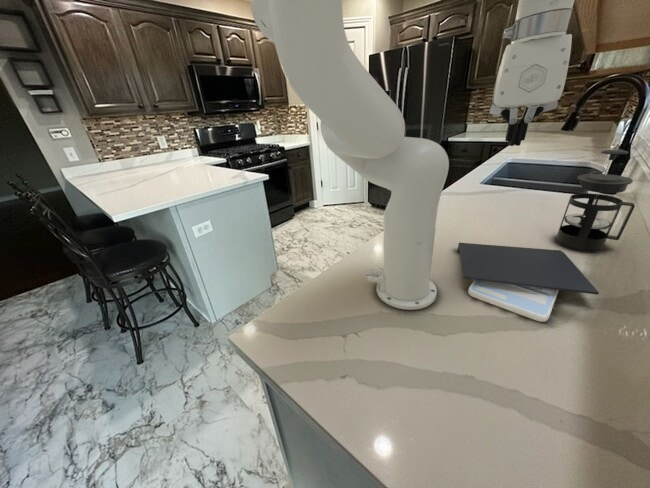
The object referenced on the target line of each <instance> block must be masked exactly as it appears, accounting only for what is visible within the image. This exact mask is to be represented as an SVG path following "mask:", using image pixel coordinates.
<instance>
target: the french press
mask: <svg viewBox="0 0 650 488" xmlns="http://www.w3.org/2000/svg"><path fill="white" fill-rule="evenodd" d="M600 153H601V154H603V155H609V157H608V160H609V162H608V164H607V166H606V169H605V171H604V173H585V174H584V173H583V174H579V175H577V177H576V180H578V181H579V183H580V186H581V188H582V190H584V191H586V192H583V193H573V194H571V195H570V197H569V199H568V202H567V206H566V208H565V211H564V214H563V217H562V218H561V222H560V225H559V228H558V230H557V234H556V235H555V237H554V242H555V244H556V245H558V246H560V247H563V248H565V249H568V250H571V251H575V252H580V253H599V252H601V251H603V250H604V248H605V246H604V245H605V243H606V241H607V239H608V240H613V241H619V240H620V238H621V236H622V234H623V232H624V230H625V227H626V226H627V224H628V222H629V219H630V218H631V215H632V213H633V211H634V209H635V207H636V205H635V202H629V201H623V200H622V199H621V198H618V197H616V196H612V195H607V194H619V193H623V192H625V191H626V190H627V189H628V185H630V184H632V183H633V179H632V178H630V177H627V176H624V175H623V176H622V175H618V174H609V173H608V172H609V169H610V168H611V165H612V163H613V161H615V159H616V157H617V156H618V155H627V154H629V151H627V150H625V149H605V150H601V151H600ZM588 192H589V193H588ZM590 192H591V193H590ZM579 199H581V200H582V199H587V202H582V201H579ZM599 201H604V202H609V203H612V204H610V205H609V204H607V205H606V204H598V203H599ZM570 205H571V206H573V207H575V208H578V209H584V210H583V213H582V214H581V213H580V214H579V213H573V214H567V212H568V209H569V207H570ZM622 206H627V207H630V208H629V209H628V212H627V213H626V216H625V218H624V220H623V222H622V225H621V227H620V228H619V231H618V233H617V235H610V232H611V230H612V228H613V226H614V224H615V222H616V219H617V217H618V214H619V212H620V211H621V207H622ZM614 211H615V214H614V216H613V218H612V220H611V222H610V220H607V219H605V218H603V217H599V216H598V213H599V212H614ZM564 222H565V223H566V224H564V225H563V223H564ZM604 230H607V231H606V232H605V231H604Z"/></svg>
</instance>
